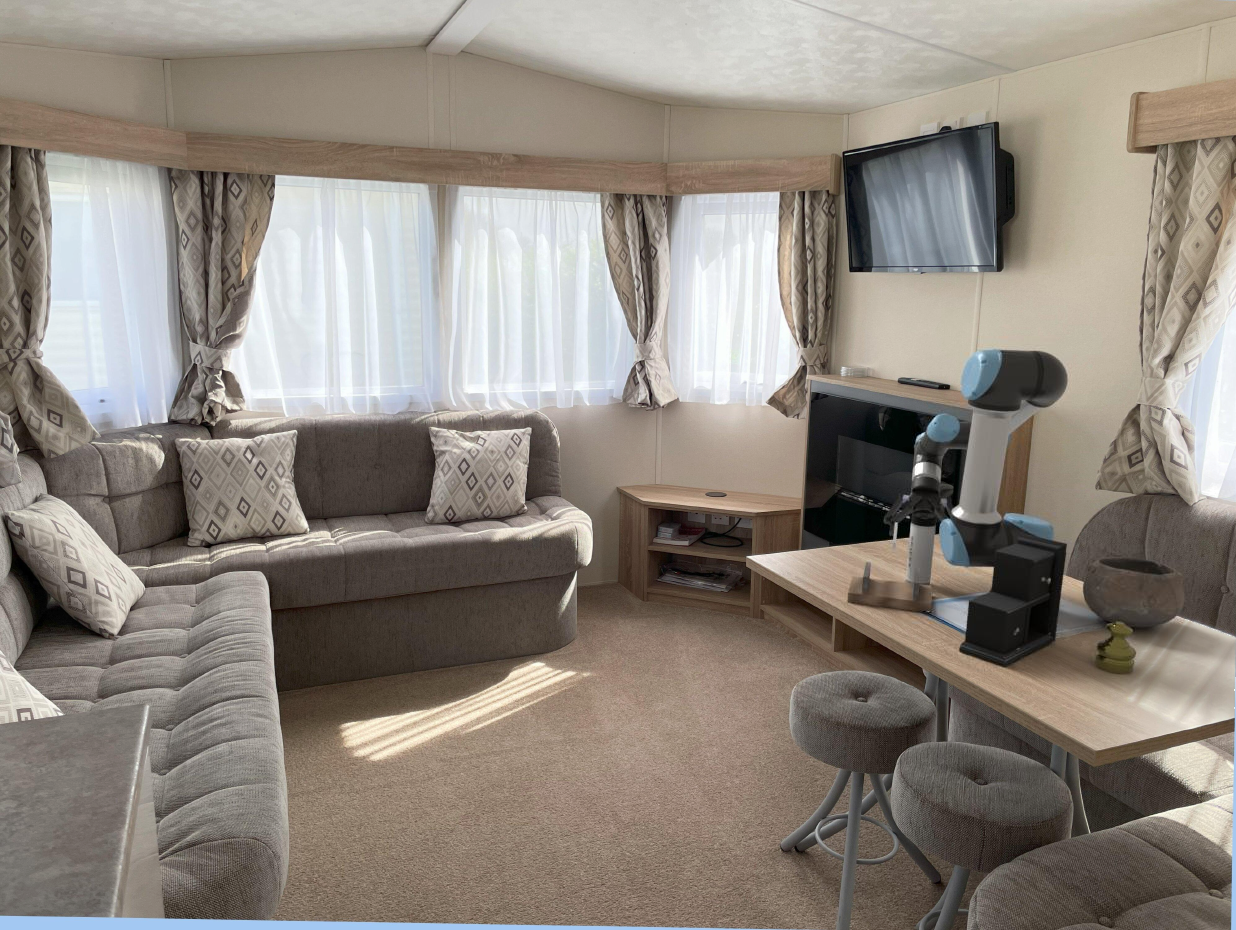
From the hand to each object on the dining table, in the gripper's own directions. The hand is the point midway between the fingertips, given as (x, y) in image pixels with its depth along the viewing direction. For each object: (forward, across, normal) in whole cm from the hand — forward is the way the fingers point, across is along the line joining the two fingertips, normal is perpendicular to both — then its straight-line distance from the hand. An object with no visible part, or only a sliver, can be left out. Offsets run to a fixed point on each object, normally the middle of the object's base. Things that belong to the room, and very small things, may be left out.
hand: (920, 548), depth 241 cm
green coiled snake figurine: (+36, -40, +22) cm, 58 cm away
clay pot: (+15, -49, 0) cm, 51 cm away
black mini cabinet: (+34, -20, +19) cm, 44 cm away
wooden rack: (+17, +7, +3) cm, 19 cm away
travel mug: (+6, 0, -8) cm, 11 cm away
